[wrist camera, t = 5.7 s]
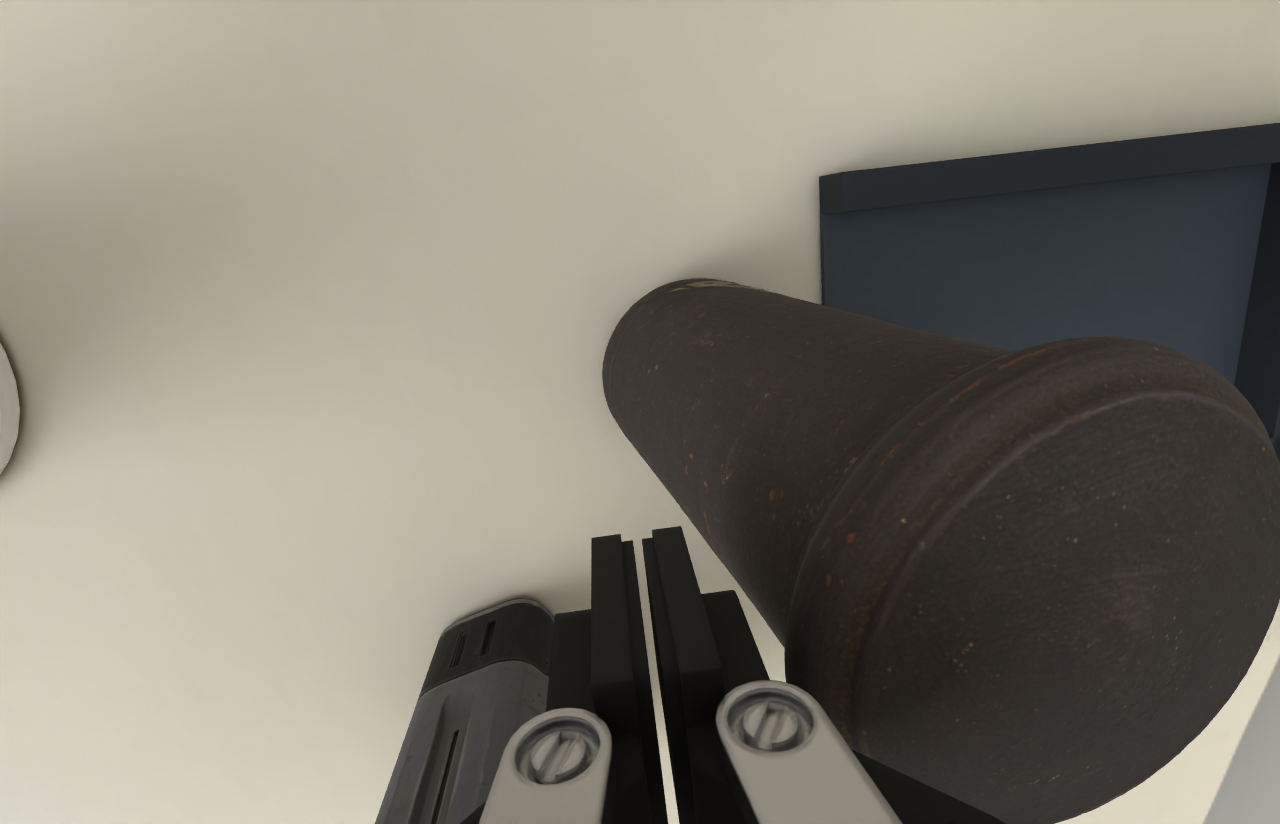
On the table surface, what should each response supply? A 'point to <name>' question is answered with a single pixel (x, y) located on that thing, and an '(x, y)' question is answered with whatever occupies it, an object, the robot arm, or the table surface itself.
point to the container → (968, 532)
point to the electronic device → (470, 712)
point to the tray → (1076, 249)
